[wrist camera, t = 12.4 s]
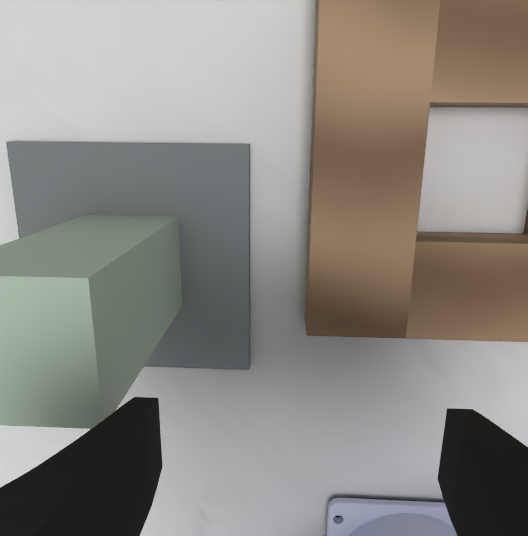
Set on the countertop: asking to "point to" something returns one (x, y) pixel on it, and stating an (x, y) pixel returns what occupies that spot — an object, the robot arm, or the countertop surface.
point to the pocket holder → (407, 170)
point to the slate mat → (159, 204)
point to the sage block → (83, 315)
